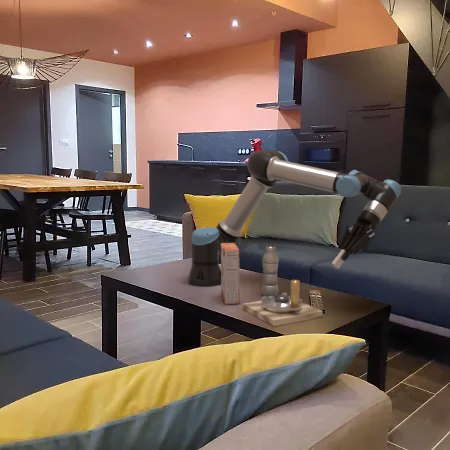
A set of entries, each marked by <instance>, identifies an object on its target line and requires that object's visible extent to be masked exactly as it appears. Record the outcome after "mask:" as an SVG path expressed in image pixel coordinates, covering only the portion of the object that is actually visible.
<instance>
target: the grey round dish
mask: <svg viewBox="0 0 450 450" xmlns="http://www.w3.org/2000/svg"><path fill="white" fill-rule="evenodd" d="M300 289H301V280H299V279H291V280H290V295H288V293H287V292H282V293H281V294H277V295H274V296H264V295H262V296H261V301H262V308H263V309H265V310H267V311H271V312H276V313H292V312H297V311H299V310H301V309H302V303H303V299H302V298H300V295H301V294H300V291H301V290H300Z"/></svg>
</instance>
